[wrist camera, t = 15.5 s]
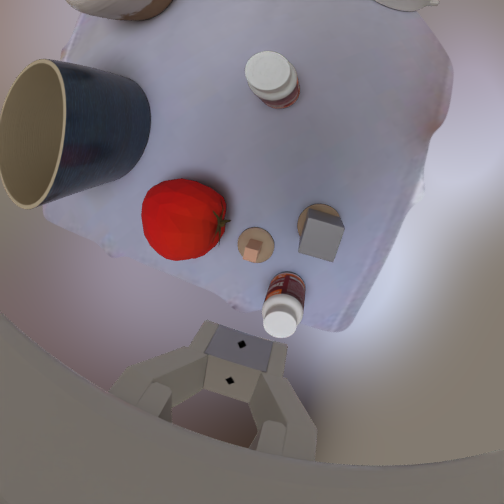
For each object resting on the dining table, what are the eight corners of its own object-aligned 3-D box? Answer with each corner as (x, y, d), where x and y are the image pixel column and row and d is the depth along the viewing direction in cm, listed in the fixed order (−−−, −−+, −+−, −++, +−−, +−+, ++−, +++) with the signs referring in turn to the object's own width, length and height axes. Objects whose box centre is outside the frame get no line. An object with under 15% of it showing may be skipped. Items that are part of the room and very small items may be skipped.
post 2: (304, 198, 40) (303, 206, 35) (347, 211, 40) (353, 222, 34) (292, 240, 43) (289, 254, 37) (333, 252, 42) (337, 268, 37)
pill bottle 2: (281, 264, 45) (272, 298, 35) (312, 283, 45) (311, 320, 35) (263, 291, 48) (250, 328, 38) (292, 308, 48) (286, 348, 38)
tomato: (169, 211, 49) (237, 221, 48) (141, 268, 42) (217, 284, 41) (152, 157, 39) (234, 163, 37) (111, 217, 32) (205, 232, 30)
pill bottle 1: (308, 91, 34) (307, 70, 24) (278, 117, 37) (267, 105, 26) (279, 65, 33) (267, 37, 23) (250, 90, 36) (229, 71, 26)
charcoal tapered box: (308, 207, 40) (308, 217, 34) (340, 217, 39) (344, 228, 34) (299, 238, 42) (298, 252, 36) (330, 247, 41) (332, 262, 36)
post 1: (242, 223, 44) (235, 231, 40) (278, 232, 43) (274, 242, 39) (235, 256, 46) (227, 266, 42) (269, 265, 46) (265, 277, 42)
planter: (169, 81, 37) (87, 55, 19) (136, 198, 46) (55, 231, 28) (87, 72, 38) (12, 63, 20) (65, 168, 47) (-7, 187, 29)
